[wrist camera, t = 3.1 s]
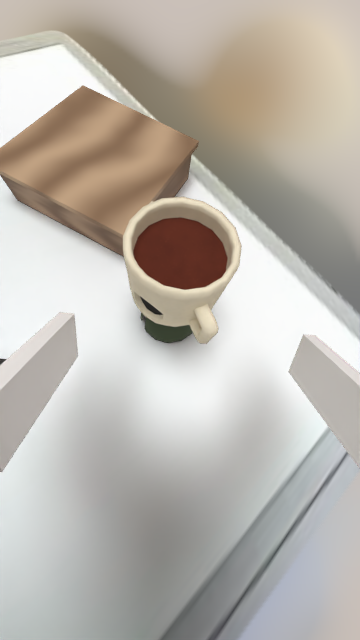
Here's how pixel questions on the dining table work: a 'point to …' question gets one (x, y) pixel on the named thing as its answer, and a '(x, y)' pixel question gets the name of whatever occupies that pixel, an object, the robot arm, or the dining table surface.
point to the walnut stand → (95, 165)
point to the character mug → (179, 266)
